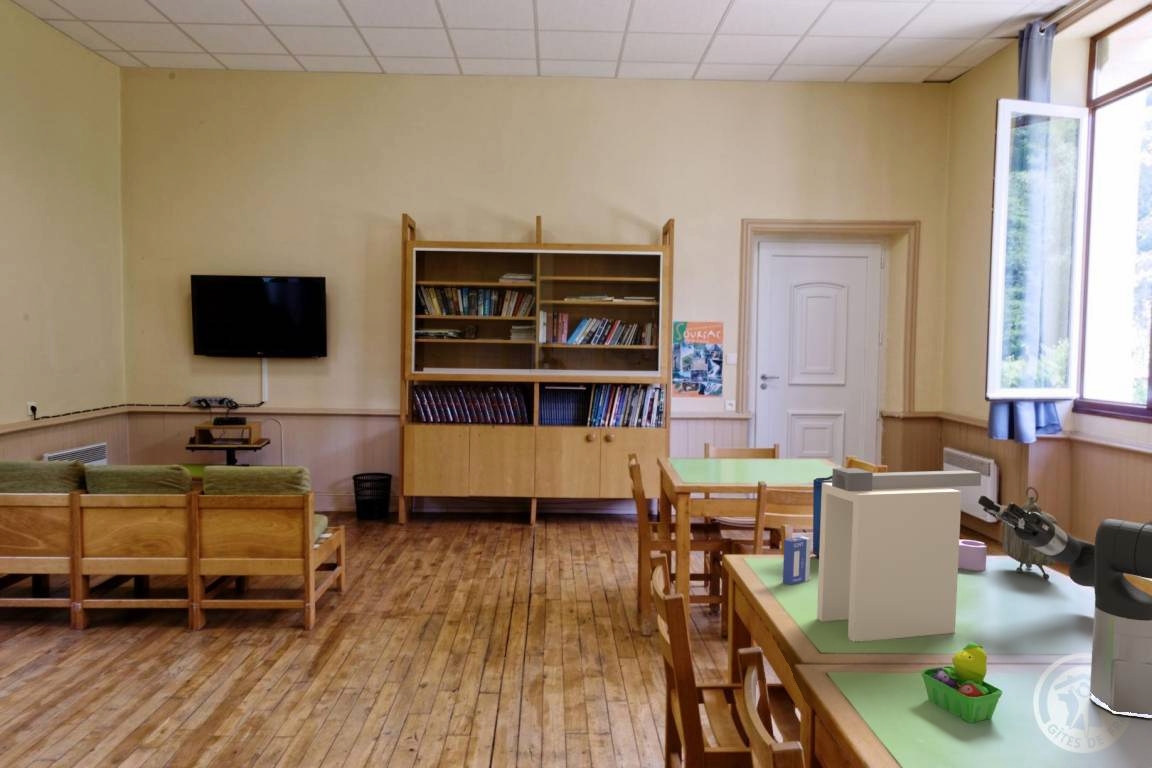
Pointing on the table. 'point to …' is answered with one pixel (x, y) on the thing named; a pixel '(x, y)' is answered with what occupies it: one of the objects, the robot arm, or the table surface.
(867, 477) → the grey square-ended bar
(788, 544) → the walkman
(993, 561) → the table surface
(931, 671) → the fruit basket
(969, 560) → the pink oval container
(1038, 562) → the tabletop clock
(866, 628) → the stand
